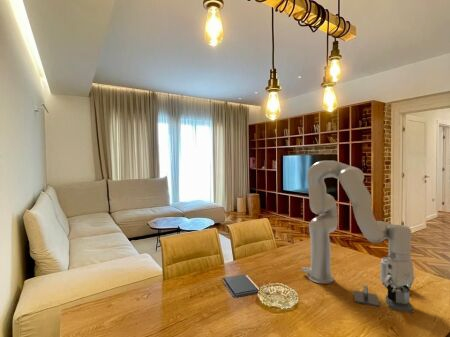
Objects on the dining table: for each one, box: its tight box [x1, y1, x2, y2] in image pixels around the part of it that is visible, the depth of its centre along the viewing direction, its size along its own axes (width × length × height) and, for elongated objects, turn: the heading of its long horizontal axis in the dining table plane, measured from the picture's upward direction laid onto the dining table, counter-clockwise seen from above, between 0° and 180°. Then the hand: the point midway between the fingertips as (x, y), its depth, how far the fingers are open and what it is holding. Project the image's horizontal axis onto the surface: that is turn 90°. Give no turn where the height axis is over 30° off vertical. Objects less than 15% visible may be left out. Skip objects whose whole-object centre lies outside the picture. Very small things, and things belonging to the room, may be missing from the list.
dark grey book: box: [220, 274, 260, 299], centre depth 123 cm, size 20×2×15 cm
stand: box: [353, 285, 380, 308], centre depth 109 cm, size 9×9×6 cm
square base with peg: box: [385, 290, 414, 314], centre depth 104 cm, size 8×8×6 cm
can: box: [379, 256, 392, 285], centre depth 122 cm, size 8×8×12 cm
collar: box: [391, 285, 410, 304], centre depth 104 cm, size 7×7×4 cm
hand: (398, 298), depth 104 cm, fingers closed on collar, 6 cm apart
